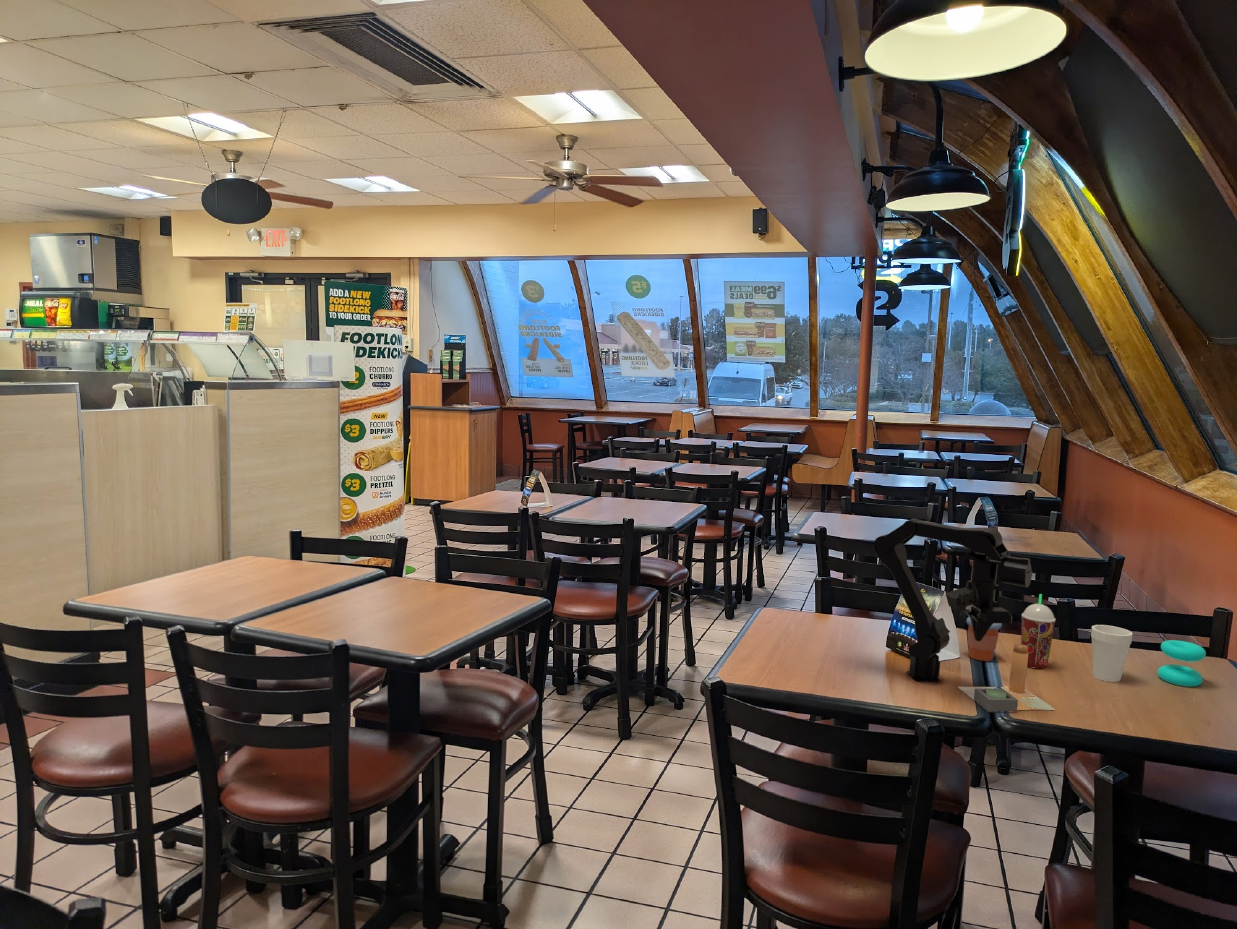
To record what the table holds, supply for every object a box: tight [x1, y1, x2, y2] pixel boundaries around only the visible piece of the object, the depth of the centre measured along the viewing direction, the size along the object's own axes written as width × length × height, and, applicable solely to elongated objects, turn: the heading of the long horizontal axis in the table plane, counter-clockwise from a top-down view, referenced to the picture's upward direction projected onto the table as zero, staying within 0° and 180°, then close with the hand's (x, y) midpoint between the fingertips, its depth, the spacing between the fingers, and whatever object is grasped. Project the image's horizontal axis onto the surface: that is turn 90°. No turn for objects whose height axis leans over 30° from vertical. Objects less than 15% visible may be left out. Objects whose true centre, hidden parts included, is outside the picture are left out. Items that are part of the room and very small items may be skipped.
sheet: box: [957, 685, 1056, 713], centre depth 208 cm, size 17×16×3 cm
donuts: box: [1157, 639, 1207, 688], centre depth 226 cm, size 10×10×10 cm
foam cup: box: [1090, 624, 1133, 683], centre depth 226 cm, size 10×9×13 cm
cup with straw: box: [966, 616, 1003, 662], centre depth 238 cm, size 9×9×18 cm
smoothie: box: [1020, 593, 1056, 669], centre depth 233 cm, size 8×8×20 cm
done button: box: [986, 688, 1006, 698], centre depth 204 cm, size 4×4×3 cm
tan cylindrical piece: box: [1008, 643, 1028, 693], centre depth 213 cm, size 4×4×12 cm
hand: (978, 640), depth 212 cm, fingers closed
